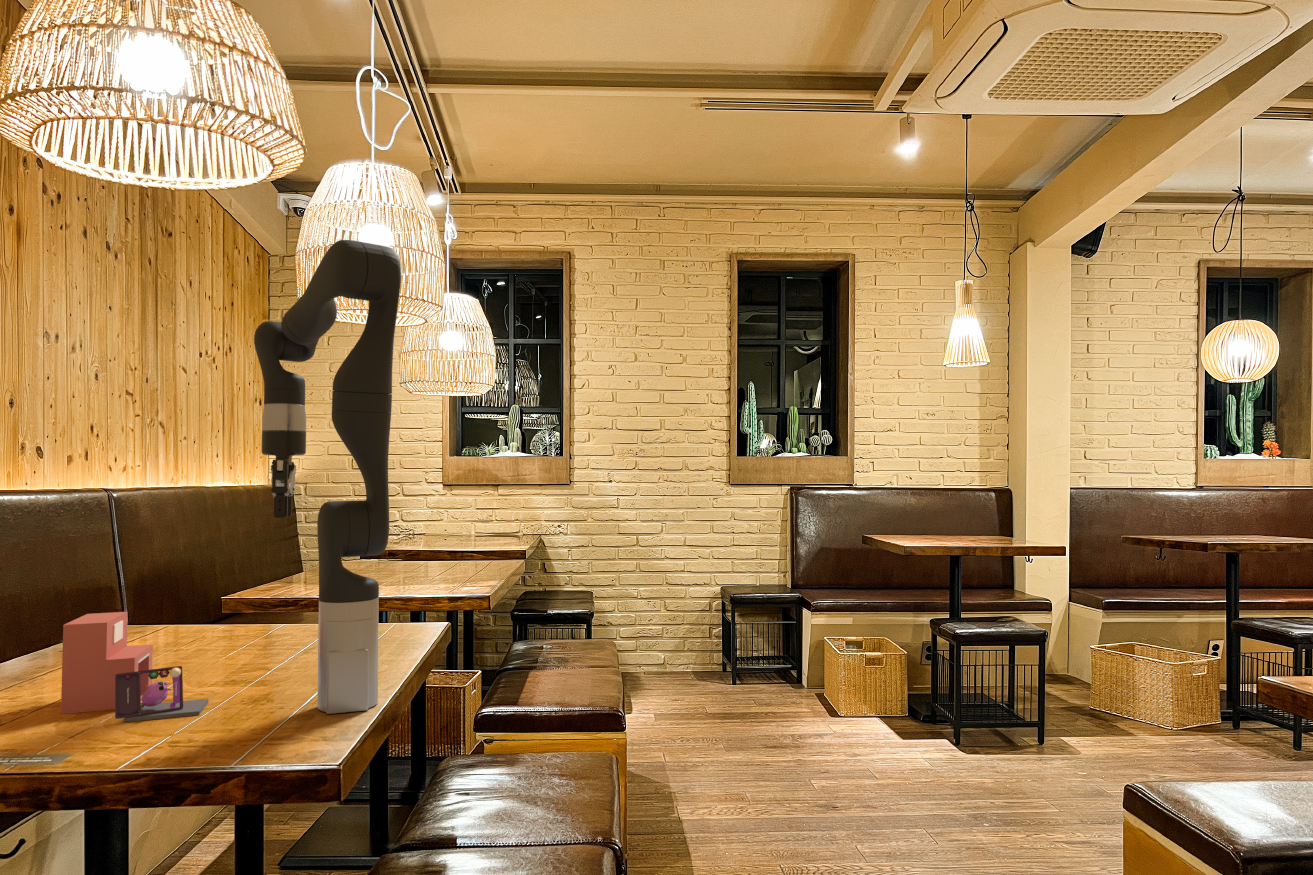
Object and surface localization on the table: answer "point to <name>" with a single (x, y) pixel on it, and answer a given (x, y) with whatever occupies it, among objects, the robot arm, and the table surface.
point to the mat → (188, 710)
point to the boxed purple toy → (155, 694)
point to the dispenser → (98, 661)
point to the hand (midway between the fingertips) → (283, 516)
